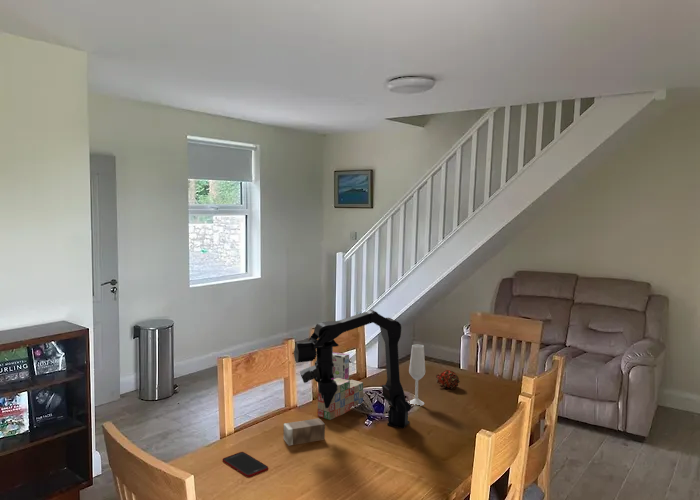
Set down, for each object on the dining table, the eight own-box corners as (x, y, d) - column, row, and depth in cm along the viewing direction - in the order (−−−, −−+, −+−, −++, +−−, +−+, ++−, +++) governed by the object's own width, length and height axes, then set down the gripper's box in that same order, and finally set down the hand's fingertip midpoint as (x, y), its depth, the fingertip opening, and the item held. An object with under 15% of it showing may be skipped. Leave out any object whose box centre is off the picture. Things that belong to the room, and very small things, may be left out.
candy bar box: (349, 391, 233) (350, 354, 231) (343, 394, 228) (344, 357, 227) (327, 386, 238) (327, 350, 236) (321, 390, 233) (321, 353, 232)
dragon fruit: (458, 395, 235) (437, 391, 244) (466, 380, 240) (445, 377, 249) (449, 381, 232) (428, 378, 241) (458, 367, 237) (437, 364, 246)
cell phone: (242, 453, 172) (242, 451, 172) (269, 470, 162) (269, 467, 162) (221, 461, 167) (221, 458, 167) (248, 479, 156) (248, 476, 156)
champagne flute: (423, 406, 216) (425, 348, 214) (407, 405, 217) (408, 347, 215) (424, 400, 222) (426, 344, 221) (408, 399, 224) (410, 343, 222)
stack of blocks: (351, 401, 221) (351, 372, 220) (363, 404, 217) (364, 375, 216) (317, 416, 204) (317, 384, 203) (329, 420, 200) (330, 388, 199)
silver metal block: (319, 418, 188) (283, 423, 183) (324, 424, 183) (288, 429, 178) (318, 433, 188) (283, 439, 183) (324, 439, 183) (288, 445, 178)
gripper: (299, 353, 193) (299, 395, 194) (303, 368, 175) (304, 415, 176) (329, 351, 195) (329, 393, 196) (337, 366, 177) (337, 412, 178)
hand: (325, 402), depth 187 cm, fingers open, 9 cm apart
